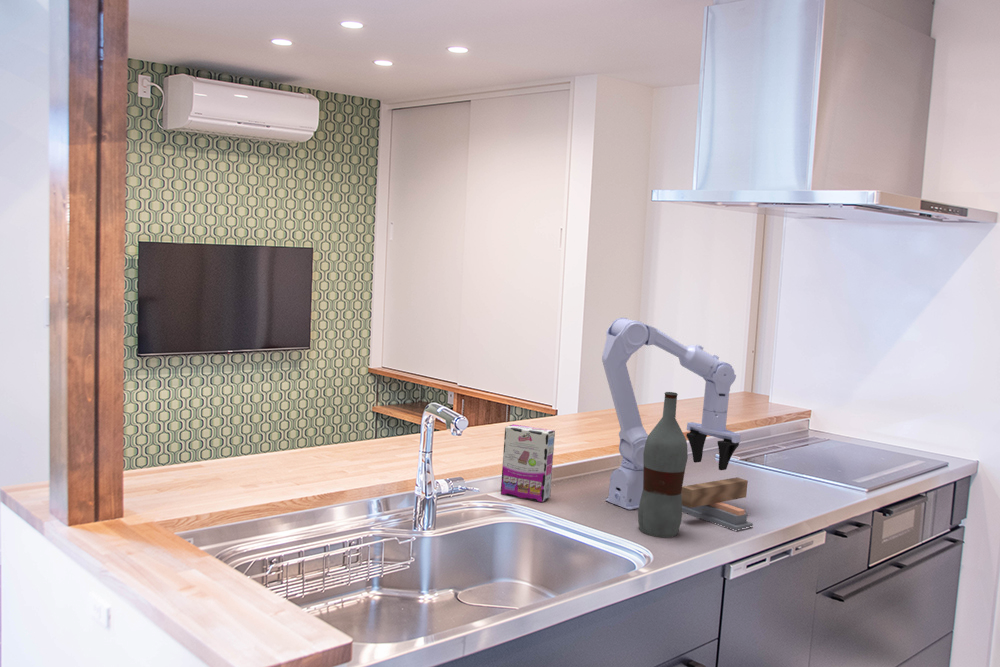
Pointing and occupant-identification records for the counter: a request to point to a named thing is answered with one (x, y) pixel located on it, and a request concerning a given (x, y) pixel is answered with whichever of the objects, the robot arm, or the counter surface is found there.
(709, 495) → the walnut bar
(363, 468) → the counter surface
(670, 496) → the bottle
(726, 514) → the stand
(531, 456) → the candy bar box
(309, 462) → the counter surface
